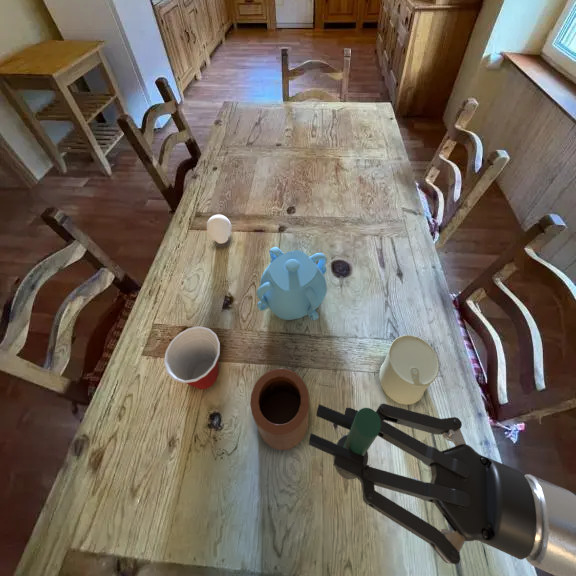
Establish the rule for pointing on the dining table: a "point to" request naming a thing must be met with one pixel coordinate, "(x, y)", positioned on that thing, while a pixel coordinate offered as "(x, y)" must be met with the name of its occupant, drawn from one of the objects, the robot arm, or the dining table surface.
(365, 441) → the green peg on base
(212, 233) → the light bulb
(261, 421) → the brown mortar
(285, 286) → the decorative pot
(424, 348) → the can
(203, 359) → the plastic cup
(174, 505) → the dining table surface
